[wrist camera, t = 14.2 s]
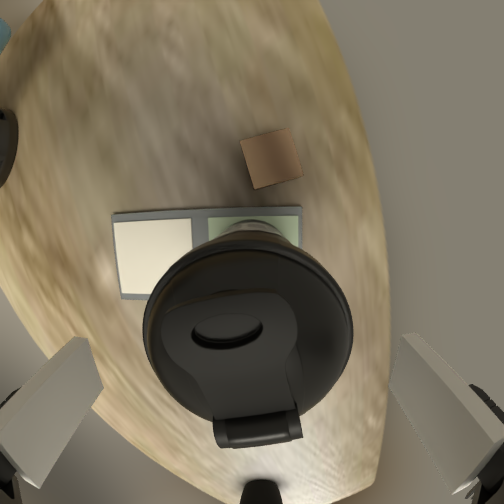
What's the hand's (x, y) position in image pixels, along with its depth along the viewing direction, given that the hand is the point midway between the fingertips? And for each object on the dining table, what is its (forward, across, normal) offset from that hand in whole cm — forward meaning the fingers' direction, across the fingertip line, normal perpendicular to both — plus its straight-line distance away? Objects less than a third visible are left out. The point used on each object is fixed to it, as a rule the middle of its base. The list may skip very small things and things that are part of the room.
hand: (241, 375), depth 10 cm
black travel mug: (+22, 0, 0) cm, 22 cm away
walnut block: (+23, +3, +10) cm, 26 cm away
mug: (+23, +2, -52) cm, 57 cm away
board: (+23, -5, 0) cm, 24 cm away
